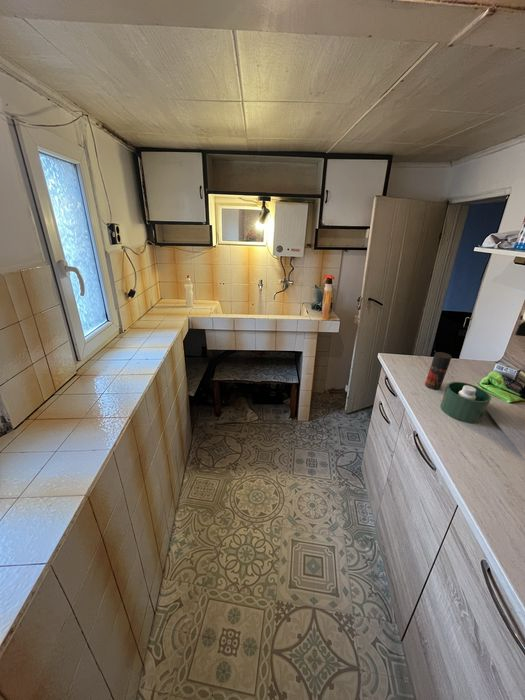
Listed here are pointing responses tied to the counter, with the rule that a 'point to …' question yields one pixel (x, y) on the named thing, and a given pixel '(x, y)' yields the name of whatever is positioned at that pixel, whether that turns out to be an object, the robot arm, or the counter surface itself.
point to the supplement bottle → (468, 392)
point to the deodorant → (437, 370)
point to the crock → (464, 403)
